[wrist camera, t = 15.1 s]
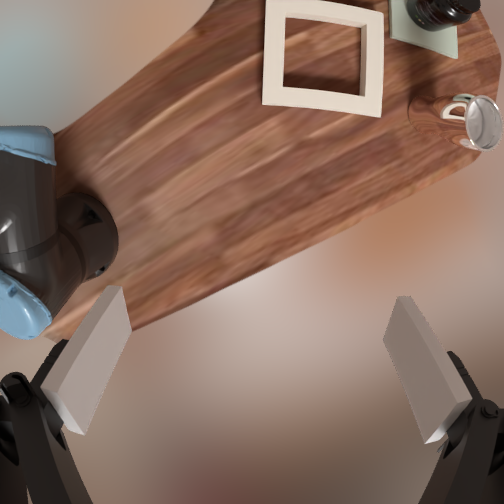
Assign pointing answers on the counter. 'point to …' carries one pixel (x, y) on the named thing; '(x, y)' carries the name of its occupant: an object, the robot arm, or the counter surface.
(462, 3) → the supplement bottle
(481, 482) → the robot arm
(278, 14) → the holder
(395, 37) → the mat
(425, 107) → the beer glass
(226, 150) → the counter surface
